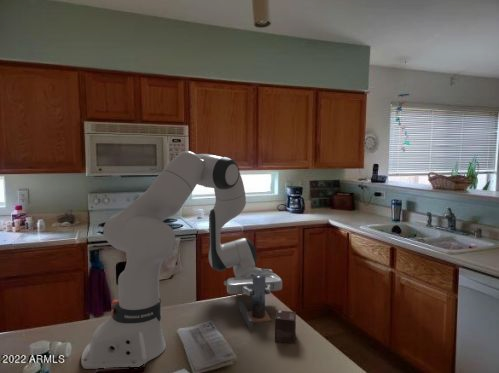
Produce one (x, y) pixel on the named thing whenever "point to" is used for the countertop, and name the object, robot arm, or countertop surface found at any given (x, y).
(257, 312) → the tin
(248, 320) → the wall
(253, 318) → the coaster
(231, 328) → the countertop surface
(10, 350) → the countertop surface
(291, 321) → the box
